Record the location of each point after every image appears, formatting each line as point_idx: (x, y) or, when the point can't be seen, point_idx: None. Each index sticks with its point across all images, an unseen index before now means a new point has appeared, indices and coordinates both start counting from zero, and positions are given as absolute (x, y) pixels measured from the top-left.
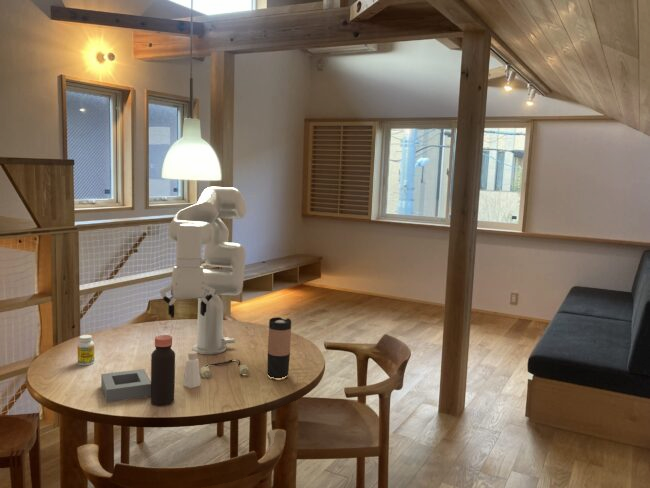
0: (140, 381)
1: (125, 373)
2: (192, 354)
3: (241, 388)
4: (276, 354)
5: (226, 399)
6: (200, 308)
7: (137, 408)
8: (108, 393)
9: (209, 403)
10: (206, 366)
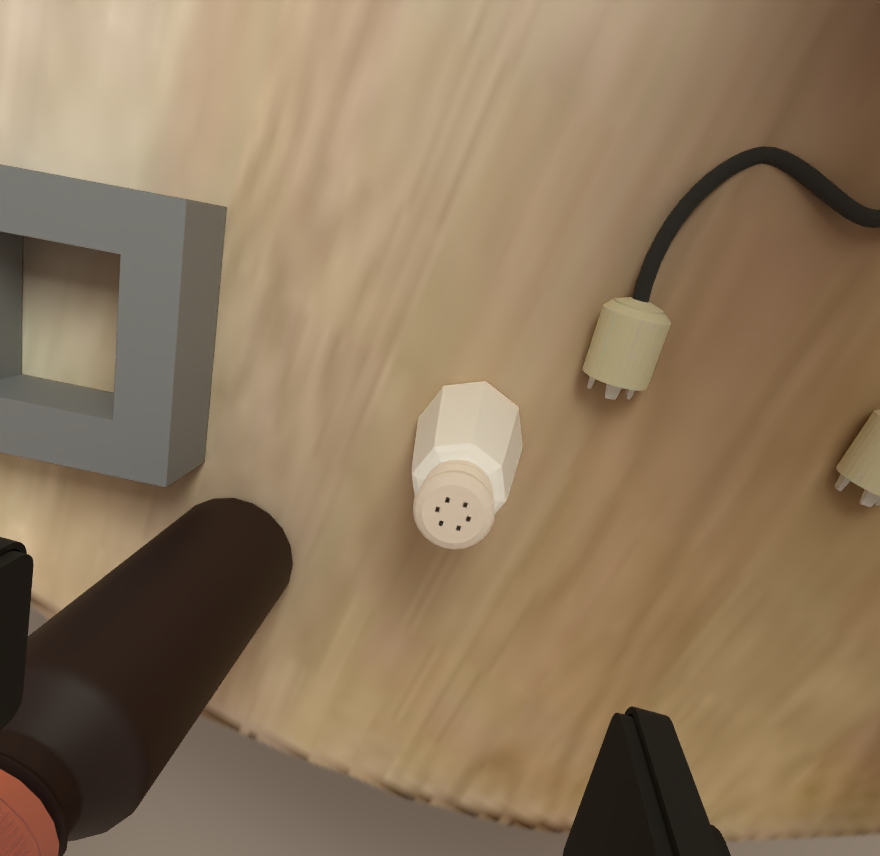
0: (117, 398)
1: (47, 222)
2: (435, 543)
3: (701, 634)
4: None
5: (541, 705)
6: (637, 799)
7: (102, 558)
8: None
9: (440, 696)
10: (655, 322)
